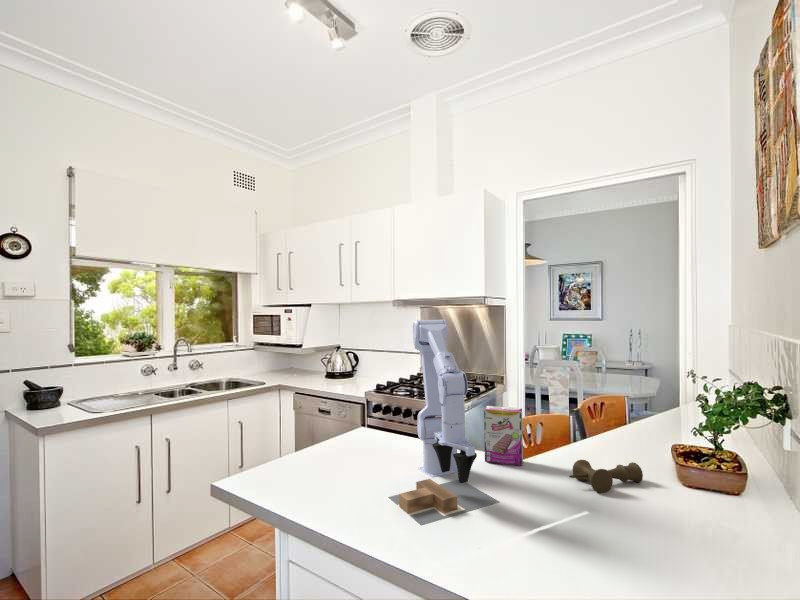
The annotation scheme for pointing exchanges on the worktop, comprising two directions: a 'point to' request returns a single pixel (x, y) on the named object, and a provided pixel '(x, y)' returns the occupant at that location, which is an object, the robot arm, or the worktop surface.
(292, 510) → the worktop surface
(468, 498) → the mat
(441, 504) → the t block
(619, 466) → the kendama
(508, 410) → the candy bar box
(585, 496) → the worktop surface
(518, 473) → the worktop surface
